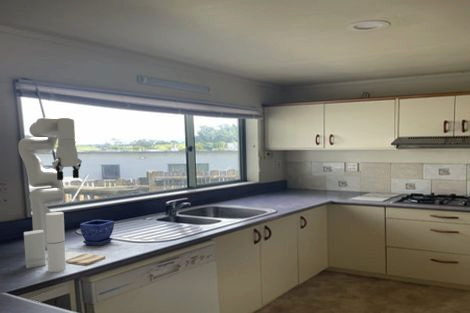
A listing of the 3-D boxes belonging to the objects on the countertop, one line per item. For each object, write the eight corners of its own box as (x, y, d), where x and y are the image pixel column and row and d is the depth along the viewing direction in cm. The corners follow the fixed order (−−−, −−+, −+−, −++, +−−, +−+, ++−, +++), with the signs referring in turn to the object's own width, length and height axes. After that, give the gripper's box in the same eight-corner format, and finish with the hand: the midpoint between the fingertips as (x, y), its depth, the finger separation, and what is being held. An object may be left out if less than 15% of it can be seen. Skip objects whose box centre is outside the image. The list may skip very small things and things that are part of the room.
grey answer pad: (46, 260, 196) (46, 258, 196) (65, 253, 207) (65, 251, 207) (65, 262, 191) (65, 260, 191) (84, 255, 202) (84, 253, 202)
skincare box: (45, 261, 193) (43, 229, 192) (45, 265, 187) (44, 231, 186) (25, 264, 189) (23, 231, 188) (25, 268, 183) (23, 234, 182)
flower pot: (96, 239, 234) (95, 219, 233) (115, 241, 229) (114, 220, 229) (79, 245, 221) (79, 223, 221) (100, 247, 217) (99, 225, 216)
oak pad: (67, 262, 191) (67, 260, 191) (85, 255, 202) (85, 253, 202) (87, 265, 186) (87, 263, 186) (105, 258, 197) (105, 256, 197)
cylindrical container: (50, 273, 176) (47, 215, 175) (46, 269, 182) (44, 213, 181) (67, 269, 180) (65, 213, 179) (63, 265, 186) (61, 211, 185)
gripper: (74, 143, 204) (75, 177, 205) (46, 143, 189) (47, 180, 189) (86, 142, 202) (87, 177, 202) (58, 143, 186) (59, 180, 186)
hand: (68, 178), depth 196 cm, fingers open, 9 cm apart
